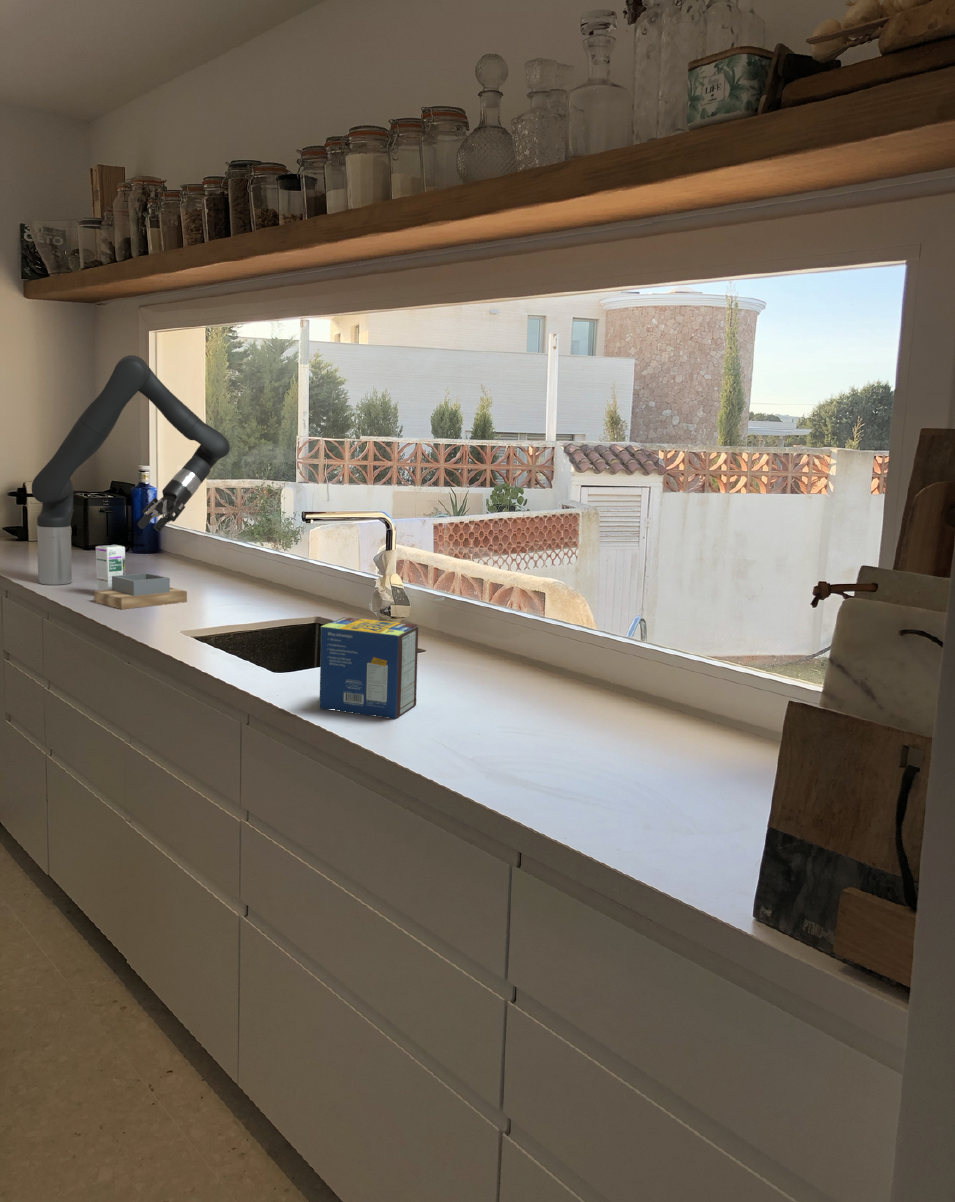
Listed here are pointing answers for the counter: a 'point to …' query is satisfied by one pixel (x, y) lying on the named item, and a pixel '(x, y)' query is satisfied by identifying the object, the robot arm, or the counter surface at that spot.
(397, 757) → the counter surface
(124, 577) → the grey square frame
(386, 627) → the protein box
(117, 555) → the syrup box
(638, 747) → the counter surface
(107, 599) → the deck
